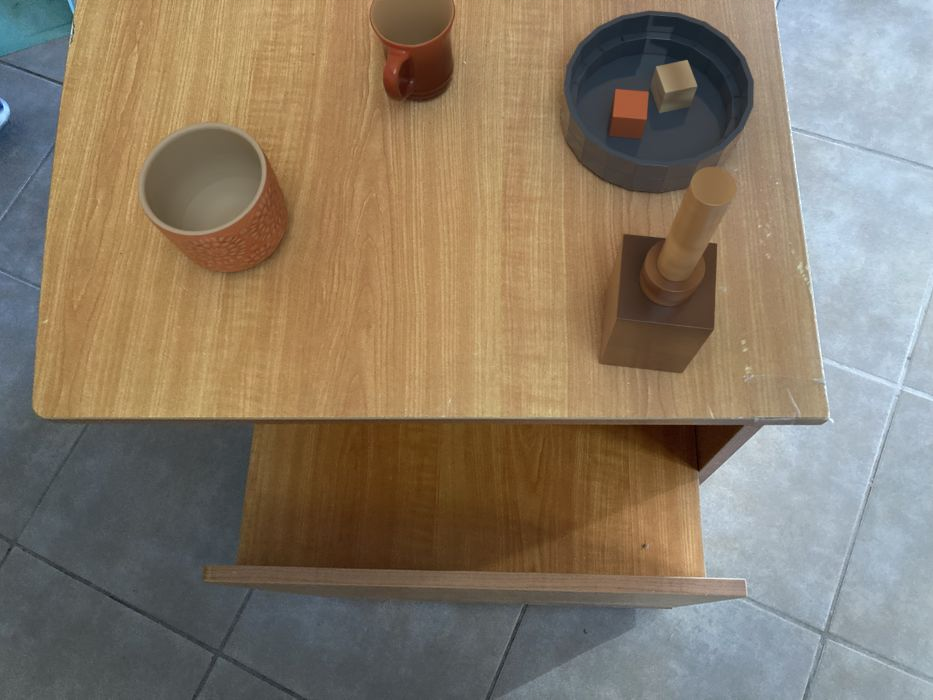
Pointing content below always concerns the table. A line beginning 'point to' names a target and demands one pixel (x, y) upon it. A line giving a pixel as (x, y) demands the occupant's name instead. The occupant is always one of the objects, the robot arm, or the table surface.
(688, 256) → the pestle
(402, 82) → the mug
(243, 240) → the planter
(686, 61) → the cream block
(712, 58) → the bowl
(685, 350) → the stand
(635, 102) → the terracotta block
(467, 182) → the table surface
